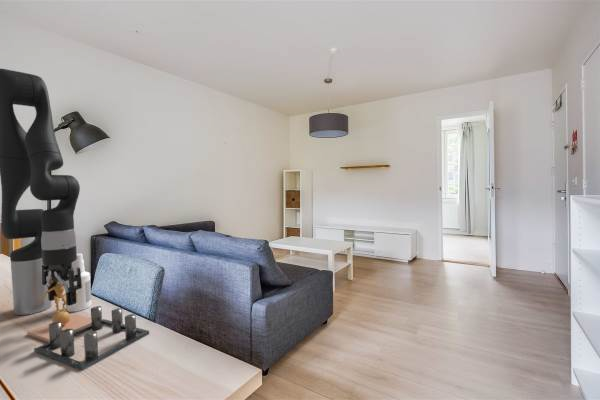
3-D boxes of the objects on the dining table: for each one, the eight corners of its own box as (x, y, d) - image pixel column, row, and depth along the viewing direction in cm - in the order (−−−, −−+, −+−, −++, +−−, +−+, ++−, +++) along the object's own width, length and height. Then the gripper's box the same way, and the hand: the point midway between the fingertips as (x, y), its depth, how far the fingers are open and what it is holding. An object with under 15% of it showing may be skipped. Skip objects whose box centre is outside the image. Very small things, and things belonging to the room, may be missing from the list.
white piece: (96, 305, 100) (93, 253, 99) (75, 313, 93) (72, 257, 92) (82, 302, 102) (79, 251, 101) (61, 310, 96) (57, 256, 95)
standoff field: (34, 351, 72) (32, 328, 71) (103, 321, 87) (102, 302, 87) (82, 370, 64) (80, 344, 64) (149, 333, 80) (148, 312, 80)
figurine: (44, 332, 79) (44, 288, 79) (38, 326, 83) (39, 283, 82) (81, 322, 85) (81, 282, 85) (74, 316, 89) (75, 277, 89)
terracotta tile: (27, 334, 80) (27, 331, 80) (75, 316, 91) (75, 313, 91) (50, 342, 76) (50, 339, 76) (98, 322, 87) (98, 319, 87)
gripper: (28, 246, 82) (32, 303, 82) (59, 250, 76) (62, 311, 77) (59, 241, 88) (62, 294, 89) (89, 245, 83) (92, 300, 84)
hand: (62, 302), depth 83 cm, fingers open, 8 cm apart
